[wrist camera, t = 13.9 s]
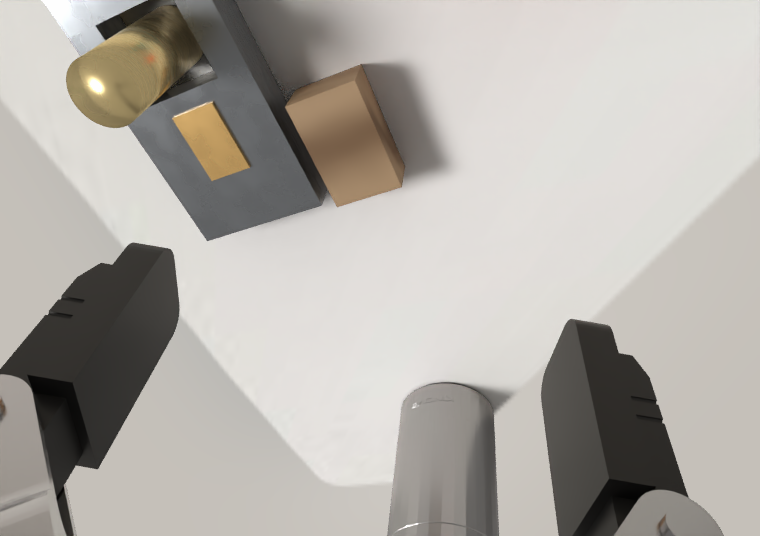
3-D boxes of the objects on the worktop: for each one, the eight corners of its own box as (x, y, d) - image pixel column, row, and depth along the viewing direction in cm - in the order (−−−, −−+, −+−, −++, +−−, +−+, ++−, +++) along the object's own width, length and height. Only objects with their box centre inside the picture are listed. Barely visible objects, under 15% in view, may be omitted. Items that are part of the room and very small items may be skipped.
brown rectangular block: (404, 166, 44) (401, 187, 41) (343, 186, 45) (337, 207, 43) (361, 64, 39) (354, 80, 37) (295, 89, 41) (285, 106, 39)
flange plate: (329, 184, 45) (321, 206, 43) (220, 220, 48) (206, 242, 46) (191, -83, 35) (170, -75, 33) (65, -16, 38) (37, -4, 36)
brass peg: (216, 54, 40) (155, 114, 32) (168, 75, 41) (98, 137, 34) (183, -5, 38) (109, 43, 30) (134, 18, 39) (50, 70, 31)
